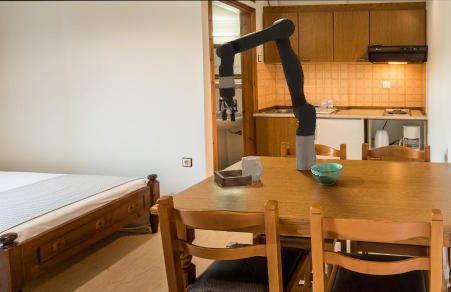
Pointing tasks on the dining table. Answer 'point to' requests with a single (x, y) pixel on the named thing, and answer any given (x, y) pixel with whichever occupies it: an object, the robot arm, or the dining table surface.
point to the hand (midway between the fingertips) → (228, 121)
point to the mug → (252, 168)
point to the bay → (232, 178)
